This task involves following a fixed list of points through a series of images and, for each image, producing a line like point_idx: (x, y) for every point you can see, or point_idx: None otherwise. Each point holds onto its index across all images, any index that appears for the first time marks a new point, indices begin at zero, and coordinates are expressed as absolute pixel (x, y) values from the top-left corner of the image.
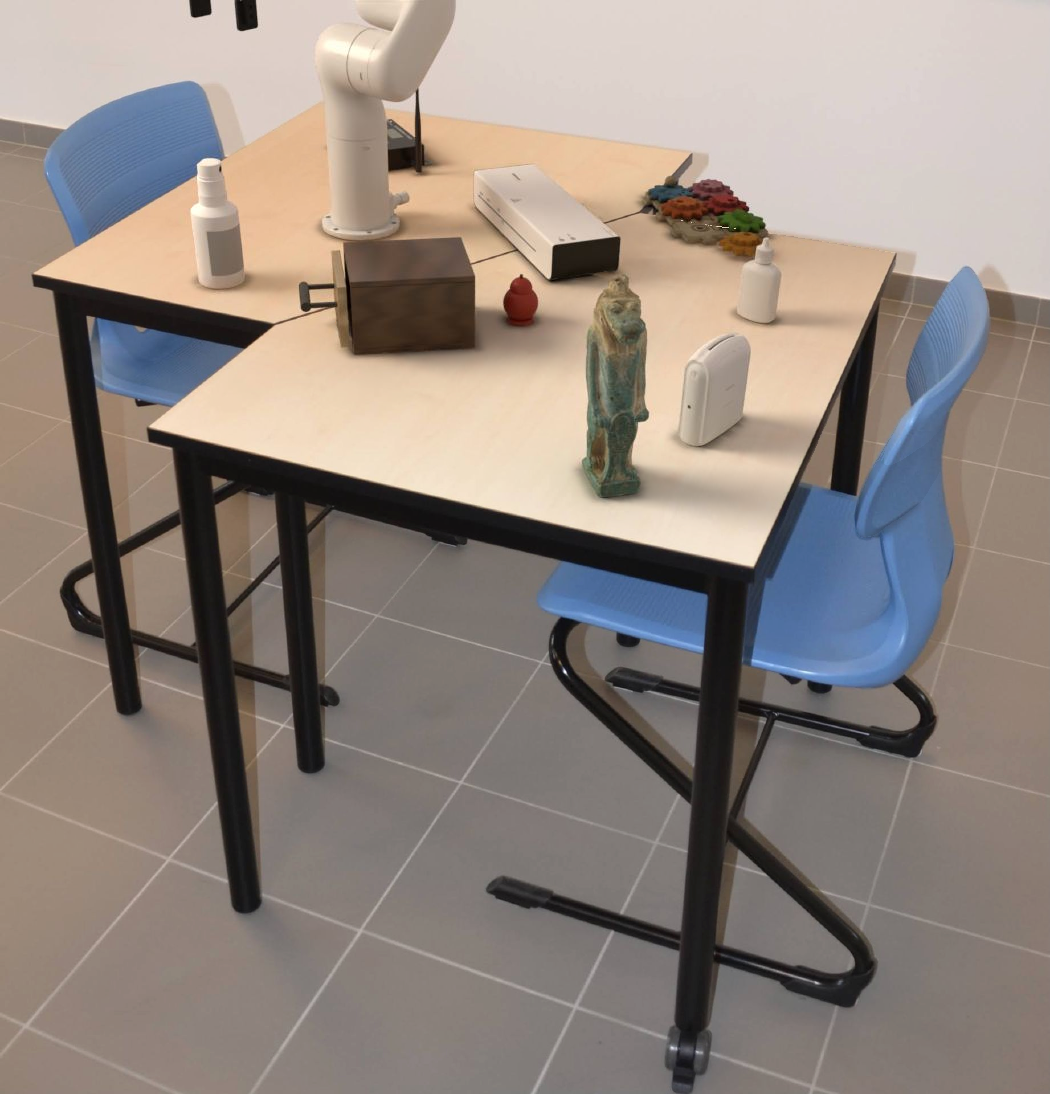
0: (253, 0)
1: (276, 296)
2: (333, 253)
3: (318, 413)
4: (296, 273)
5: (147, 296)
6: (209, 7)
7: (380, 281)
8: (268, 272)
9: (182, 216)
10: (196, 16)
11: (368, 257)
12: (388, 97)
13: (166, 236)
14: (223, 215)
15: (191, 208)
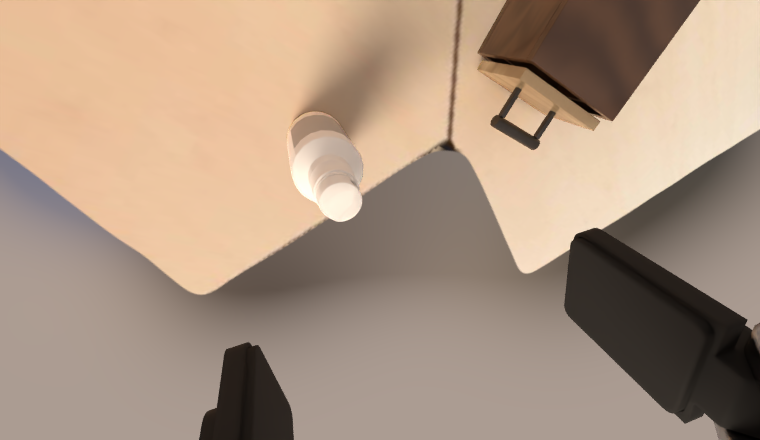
0: (744, 334)
1: (392, 103)
2: (528, 82)
3: (591, 179)
4: (346, 43)
5: (312, 224)
6: (261, 378)
7: (636, 87)
8: (322, 75)
9: (26, 86)
10: (289, 406)
11: (587, 59)
12: None
13: (122, 143)
14: (362, 171)
15: (311, 199)
